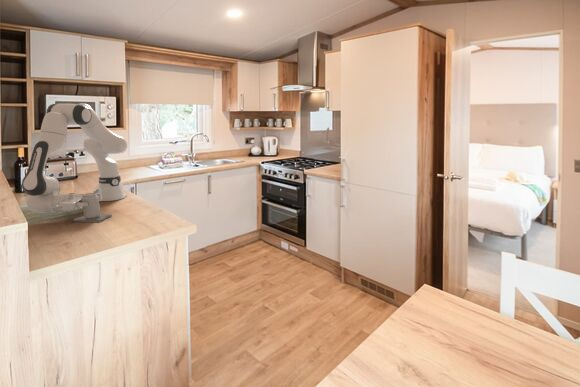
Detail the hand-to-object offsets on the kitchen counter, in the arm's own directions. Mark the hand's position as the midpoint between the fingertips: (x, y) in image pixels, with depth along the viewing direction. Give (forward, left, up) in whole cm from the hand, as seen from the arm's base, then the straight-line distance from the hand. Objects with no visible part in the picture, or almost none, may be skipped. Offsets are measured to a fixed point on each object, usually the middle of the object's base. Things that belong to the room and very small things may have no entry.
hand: (92, 201), depth 177 cm
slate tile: (-1, 0, -9) cm, 9 cm away
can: (-1, -1, -8) cm, 8 cm away
